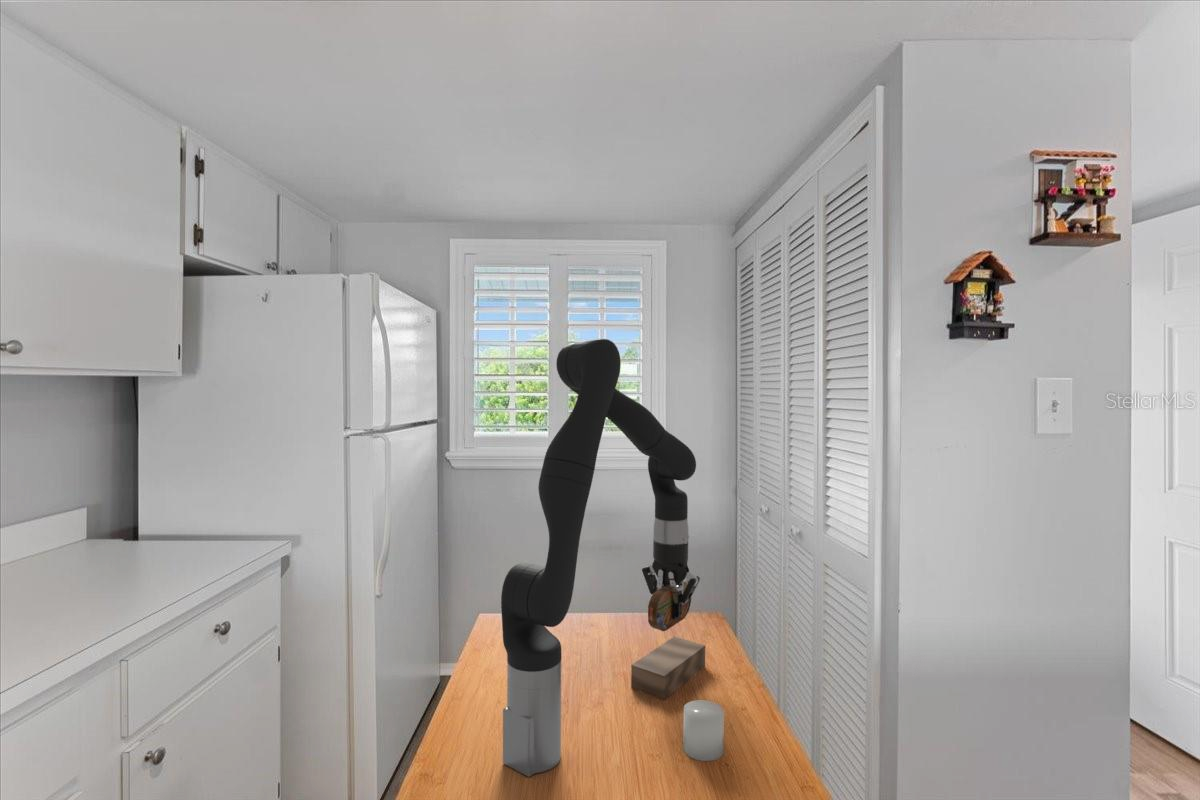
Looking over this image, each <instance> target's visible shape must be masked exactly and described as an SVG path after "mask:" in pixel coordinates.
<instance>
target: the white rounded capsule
mask: <svg viewBox="0 0 1200 800" xmlns="http://www.w3.org/2000/svg"><path fill="white" fill-rule="evenodd" d="M724 717H725V711H724V709H723V707H722V706H721V705H720V704H717V703H715V702H714V701H713V702H712V701H709V700H704V699H697V700H696V699H695V700H692V701H689V702H687V703H685V704H684V706H683V725H682V726H683V731H682V732H683V733H682V734H683V735H682V739H683V741H682V750H683V752H684V753H685V754H686V755H687V757H689V758H691V759H694V760H696V761H701V762H713V761H716V760H718V759H720V758H721V757H722V756H723V753H724V732H725V730H724V726H725V725H724V723H725V718H724Z"/></svg>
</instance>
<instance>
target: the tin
mask: <svg viewBox="0 0 1200 800" xmlns="http://www.w3.org/2000/svg"><path fill="white" fill-rule="evenodd" d="M683 586H684V588H683V592H684V590H685V588H686V586H687V584H686V581H683ZM672 603H673V594H672V592H671V587H670V585H666V586H664V587H662V588H660V589H658V590H657V591H655V592H654V593H653V594H651V596H650V599H649V602H648V605H647V607H648V609H647V610H648V611H647V621H648V624H649V626H650V627H651V628H652V629H656V630H659V631H661V632H666V631H668V630H670V629H671V628H672V627H674V626H675V625H676V624H678V623H680V622H682V621H683V620H684V619H685V618H686V617H687V615H688V613H689V611H690V607H691V603H692V597H691V598H690V599H689V600H687V601H686V602H682V615H681V616H680V617H679V618H678V619H677V620H674V619H672Z"/></svg>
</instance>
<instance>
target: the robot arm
mask: <svg viewBox="0 0 1200 800" xmlns="http://www.w3.org/2000/svg"><path fill="white" fill-rule="evenodd" d="M621 362H622V361H621V355H620V351H619V349H618V346H617V345H616V343H614V342H613V341H612V340H611V339H608V338H595V339H589V340H582V341H581V340H580V341H577V342H573V343H570V344H566V345H565V346H564V347H562V348H561V349H560V351H559V352H558V354H557V358H556V363H555V365H556V371H557V373H558V377H559V378H560V380H561V381H562V382H563V383H564V385H566V386H567V387H568V388H569V389H570V390H571V391H573V392H574V393H575V394H576V395H577V399H576V400H575V401H576V402H575V404H574V406H573V409H572V411H571V413H570V414H569V416H568V417H567V419H566V420H565V421H564V423H563V424H562V426H561V428H560V429H559V430H558V431H557V433H556V434H555V436H553V438H552V440H551V442H550V443H549V445H548V448H546V449H547V450H546V452H545V455H544V459H543V463H542V467H541V472H540V475H539V480H538V487H537V488H538V494H539V495H538V496H539V501H540V505H541V509H542V511H543V514H544V518H545V520H546V525H547V529H548V552H547V558H546V562H545V566H541V565H537V564H532V563H527V562H520V563H518V564H515V565H514V566H512V567H511V568H510V569H509V571H508V572H507V573H506V575H505V578H504V581H503V583H502V589H501V597H500V599H501V602H500V604H501V605H500V607H501V626H502V628H501V630H502V642H503V643H502V644H503V647H504V649H505V651H506V657H507V659H506V662H507V663H506V664H507V666H506V667H507V668H506V671H507V672H506V674H507V675H506V677H507V678H506V679H507V680H506V683H507V684H506V688H507V689H506V691H507V693H506V695H507V696H506V699H507V700H506V707H504V708H503V709H502V764H503V765H505V766H507V767H509V768H511V769H513V770H515V771H517V772H518V773H520V774H522V775H525V776H526V777H531V776H533V775H534V774H539V773H544V772H547V771H549V770H551V769H553V768H554V767H555V766H557V764H559V762H560V760H561V757H562V756H561V755H562V644H561V641H560V640H559V638H558V637H557V636H555V635H554V633H552V632H551V631H550V630H549V629H548V628H547V627H549V628H554V627H555V628H556V627H557V626H559V625H560V624H561V623H562V622H563V621H564V619H565V618H566V616H567V614H568V613H569V609H570V606H571V602H572V597H573V593H574V586H575V579H576V570H577V564H578V563H577V562H578V554H579V549H580V548H579V546H580V540H581V533H582V529H583V523H584V517H585V512H586V510H587V509H586V508H587V503H588V499H589V497H590V491H591V487H592V482H593V478H594V473H595V469H596V463H597V457H598V453H599V452H598V451H599V448H600V444H601V440H602V435H603V432H604V431H603V430H604V427H605V423H606V421H607V420H606V419H608V420H609V421H610V422H611V423H612V424H613V425H615V427H617V428H618V429H619V430H620V431H621V432H622V433H623V434H624V435H625V436H626V438H627V439H628V440H629V441H630V442H631V443H632V444H633V445H634V447H635V448H636V449H637V450H638V451H639V452H640V453H641V454H643V455H644V456H647V457H648V460H647V469H648V475H649V479H650V483H651V487H652V491H653V492H652V493H653V495H654V521H653V522H654V523H653V539H652V540H653V544H652V545H653V546H652V547H653V549H652V553H653V554H652V558H653V562H652V564H649V565H647V566H645V567H643V568H641V572H642V574H643V578H644V580H645V583H646V585H647V588H648V590H649V593H650V595H653V593H654V592H655V591H657V590H658V589H660V588H662V587H664V586H666V585H670V587H671V592H672V594H673V603H672V619H674V620H677V619H678V618H679V617H680V616H681V615H682V602H686V601H687V600H689V599H690V598H691V599H692V596H693V595H694V592H695V591H696V588H697V587H698V584H699V583H700V580H701V577H699V575H693V574H692V573H691V572H690V569H689V567H688V561H689V539H690V536H689V523H688V513H689V512H688V511H689V510H688V506H689V503H688V501H689V500H688V495H687V492H685V491H683V490H681V489H680V488H679V487H677V485H676V483H675V481H680V482H681V481H687V480H689V479H690V478H692V477H693V475H694V474H695V472H696V468H697V462H696V456H695V454H694V453H693V451H692V450H691V449H690V448H689V447H688V446H687V445H686V444H684V442H682V441H681V440H680V439H679V438H678V437H677V436H675V435H674V434H672V433H670V432H669V431H668V430H666V429H665V427H664V426H663V425H662V423H661V422H660V421H659V420H658V419H657V418H656V417H655V416H654V414H653V413H652V412H651V411H650V410H649V409H648V408H647V407H645V406H643V404H641V403H640V402H638V401H636V400H635V399H633V398H631V397H629V396H627V395H626V394H624V393H623V392H621V391H620V390H618V389H617V384H618V381H619V377H620V372H621ZM685 579H686V581H685V582H686V584H687V586H686V588H685V590H684V592H683V588H684V586H683V582H684V580H685Z"/></svg>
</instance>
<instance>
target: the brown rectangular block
mask: <svg viewBox="0 0 1200 800" xmlns="http://www.w3.org/2000/svg"><path fill="white" fill-rule="evenodd" d="M704 667H705V668H706V645H705V644H701V643H697V642H695V641H691V640H688V639H685V638H684V639H683V638H681V637H678V636H673V637H672V638H670V639H668V640H666V641H665V642H664V643H662V644H660V645H659V646H658V647H656V648H654V649H653V650H651V651H650V652H649V653H647V654H645V655H644V656H643V657H641V658H640V659H638V660H636V661H635V662H633V663H632V664H631V674H630V677H631V678H630V680H631V681H630V683H631V685H630V688H631V689H632V688H633V689H632V690H635V691H637V692H640V691H641V693H644V694H646V695H649V696H651V697H654V698H657V699H660V700H662V701H665V700H666V699H667V698H669V697H670V696H671V695H672V694H673V692H674V693H675V692H676V691H677V690H679V689H680V688H681V687H683V686H684V684H686V683H688V682H689V681H690V680H691V679H693V678H694V677H695V676H696V675H697V674H698V673H700V672H701V671H702V670H703V669H705V668H704ZM702 668H703V669H702ZM701 669H702V670H701ZM700 670H701V671H700ZM699 671H700V672H699ZM695 674H696V675H695ZM694 675H695V676H694ZM668 696H669V697H668Z"/></svg>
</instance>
